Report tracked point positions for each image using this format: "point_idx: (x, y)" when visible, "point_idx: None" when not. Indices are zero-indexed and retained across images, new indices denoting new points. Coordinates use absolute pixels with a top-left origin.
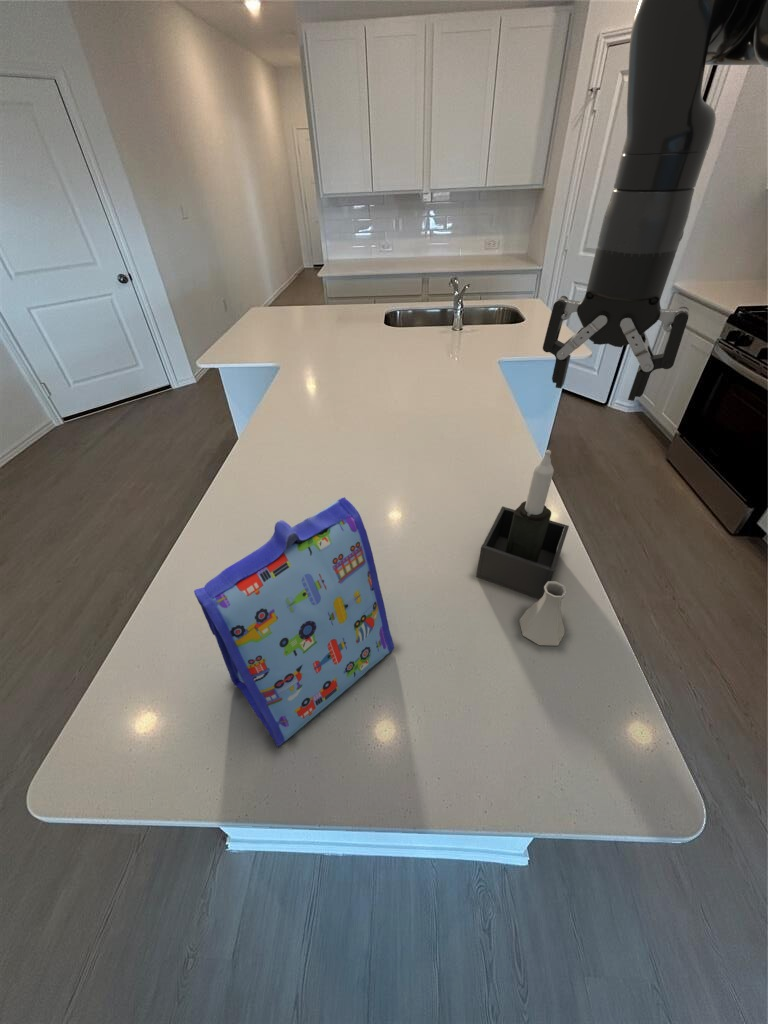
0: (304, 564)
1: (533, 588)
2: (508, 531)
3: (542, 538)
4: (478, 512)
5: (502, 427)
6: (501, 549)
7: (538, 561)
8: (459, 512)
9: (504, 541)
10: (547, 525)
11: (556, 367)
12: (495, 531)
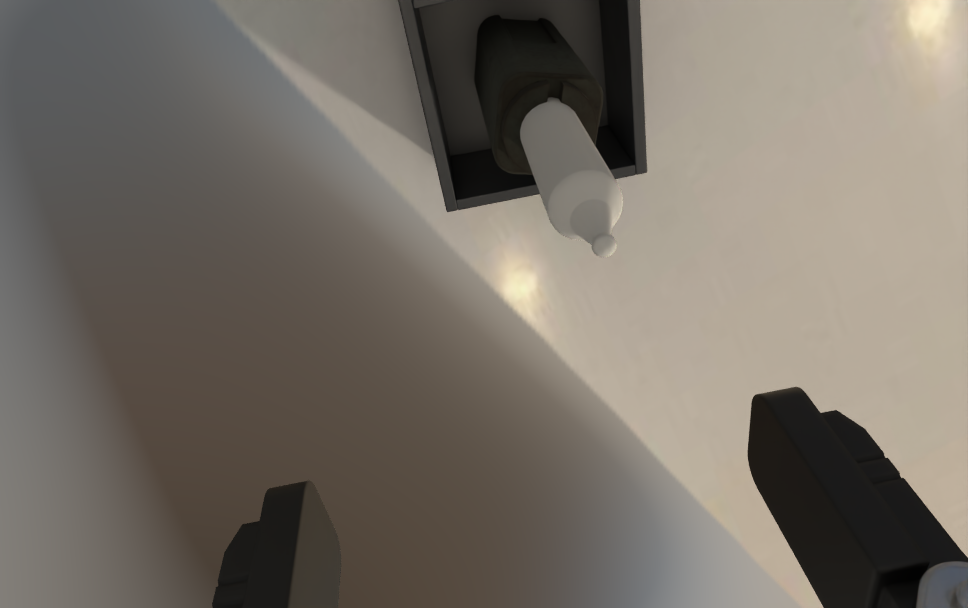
0: None
1: None
2: None
3: (485, 104)
4: (694, 181)
5: (751, 496)
6: None
7: (475, 100)
8: (744, 148)
9: None
10: (489, 132)
11: (905, 505)
12: (623, 74)
